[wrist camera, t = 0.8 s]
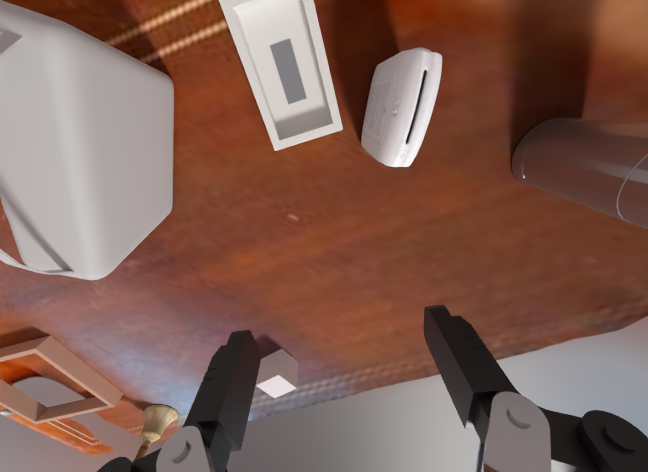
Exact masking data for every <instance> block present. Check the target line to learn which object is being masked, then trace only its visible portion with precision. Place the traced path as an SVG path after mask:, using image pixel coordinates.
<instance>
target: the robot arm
mask: <svg viewBox="0 0 648 472" xmlns="http://www.w3.org/2000/svg"><path fill="white" fill-rule="evenodd" d="M512 171H513V174H514V176H515V177H516V178H517V179H518V180H519V181H520V182H523V183H525V184H528V185H531V186H533V187H536V188H538V189H541V190H543V191H546V192H549V193H551V194H554V195H557V196H559V197H562V198H565V199H567V200H570V201H573V202H575V203H578V204H581V205H583V206H586V207H589V208H591V209H594V210H597V211H599V212H602V213H605V214H607V215H610V216H613V217H615V218H618V219H621V220H623V221H626V222H629V223H632V224H634V225H637V226H640V227H642V228H645V229H648V122H631V121H613V120H596V119H581V118H562V117H560V118H552V119H548V120H546V121H544V122H541V123H539V124H538V125H536V126H535V127H534V128H532V129H531V130H530V131H529V132H528V133H527V134H526V135H525V136H524V137H523V138H522V139H521V141H520V142H519V144H518V145H517V147H516V149H515V152H514V154H513V158H512ZM424 336H425V340H426V343H427V345H428V347H429V350H430V352H431V354H432V356H433V359H434V361H435V363H436V365H437V368H438V370H439V372H440V374H441V376H442V378H443V381H444V383H445V385H446V387H447V390H448V392H449V394H450V396H451V399H452V401H453V403H454V405H455V408H456V410H457V412H458V414H459V417H460V418H461V421H462V423H463V425H464V428H465V429H469V428H475V430H476V432H477V434H478V435H479V437H480V444H479V450H478V457H477V463H476V470H475V472H648V438H647V437H646V436H645V435H644V434H643V433H642V432H641V431H640V430H639V429H638V428H636V427H635V426H633V425H632V424H631V423H629V422H628V421H626V420H624V419H622V418H620V417H619V416H616V415H614V414H611V413H608V412H604V411H598V410H593V411H589V412H587V413H586V414H585V415H584V416H583V417H582V418H580V417H576V416H572V415H567V414H563V413H558V412H554V411H550V410H546V409H543V408H541V407H539V406H537V405H535V404H534V403H533V402H532V401H530V400H529V399H527V398H526V397H524V396H522V395H521V394H520V393H519V392H518V391H517V390H516V389H515V388H514V386H513V385H512V383H511V382H510V381H509V379H508V378H507V376H506V375H505V373H504V372H503V370H502V369H501V368H500V366H499V365H498V363H497V362H496V360H495V359H494V357H493V356H492V354H491V353H490V351H489V350H488V349H487V348H486V346H485V344H484V343H483V341H482V340H481V339H480V338H479V335H478V334H477V333H476V331H475V330H474V328H473V327H472V325H471V324H470V323H468V322H467V321H466V320H464V319H463V318H462V317H461V316H451V315H450V313H449V311H448V310H447V308H446V307H445V306H444V305H436V306H429V307H425V311H424ZM260 361H261V355H260V350H259V348H258V346H257V344H256V341H255V339H254V337H253V335H252V333H251V331H250V330H244V331H237V332H232V333H231V335H230V337H229V340H228V342H227V345H224V346H221V347H220V348H219V349H218V351H217V352H216V353H215V354H214V356H213V357H212V359H211V362H210V364H209V367H208V371H206V374H205V376H204V378H203V382H202V383H201V386H200V388H199V390H198V393H197V395H196V397H195V400H194V402H193V405H192V407H191V409H190V412H189V414H188V416H187V419H186V421H185V423H184V425H183V427H182V428H181V429H179V430H178V431H176V432H175V433H174V434H173V435H172V436H171V437H170V438H169V439H168V440H167V441H166V443H165V444H164V446H163V447H162V448H161V449H159V450H157V451H155V452H153V453H151V454H148V455H146V456H145V457H142V458H140V459H138V460H136V461H134V462H132V461H130V460H129V459H128V458H126V457H118V458H116V459H113V460H111V461H109V462H108V463H106V464H105V465H104V466H103V467H101V469H99V470H98V471H97V472H231V471H230V468H229V465H228V459H229V455H230V451H237V450H241V446H242V442H243V438H244V433H245V429H246V424H247V420H248V416H249V411H250V407H251V402H252V398H253V394H254V389H255V385H256V380H257V376H258V371H259V367H260Z"/></svg>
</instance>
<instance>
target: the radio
mask: <svg viewBox="0 0 648 472" xmlns="http://www.w3.org/2000/svg"><path fill="white" fill-rule="evenodd" d="M173 134H174V86H173V83H172V80H171V79H170V77H168V76H167V75H166V74H165V73H163V72H161V71H159V70H157V69H155V68H153V67H151V66H149V65H147V64H145V63H143V62H141V61H139V60H137V59H135V58H133V57H131V56H129V55H127V54H126V53H124V52H122V51H120V50H118V49H116V48H114V47H112V46H110V45H108V44H106V43H104V42H102V41H100V40H98V39H96V38H95V37H93V36H91V35H89V34H87V33H85V32H83V31H81V30H79V29H77V28H75V27H73V26H71V25H69V24H67V23H65V22H63V21H60V20H57V19H55V18H52V17H49V16H46V15H43V14H40V13H37V12H34V11H31V10H29V9H26V8H23V7H20V6H17V5H14V4H11V3H8V2H6V1H3V0H0V197H1V202H2V205H3V208H4V211H5V214H6V216H7V217H8V220H9V223H10V226H11V229H12V232H13V235H14V238H15V241H16V244H17V247H18V250H19V253H20V256H21V258H22V260H23V262H24V263H25V264H26V265H27V266H28V267H27V266H24V265H21V264H19V263H18V262H17V261H15V260H14V259H13V258H12V257H10V256H9V255H8V254H6V253H5V252H4V251H2V250H1V249H0V260H1V261H3V262H4V263H6V264H9V265H13V266H16V267H20V268H23V269H27V270H30V271H34V272H38V273H43V274H49V275H52V274H60V275H66V276H71V277H76V278H82V279H87V280H97V279H101V278H103V277H105V276H107V275H108V274H109V273H111V272H112V271H113V270H114V269H115V268H116V267H117V266H118V265H119V264H120V263H121V262H122V261H123V260H124V259H125V258H126V257H127V256H128V255H129V254H130V253H131V252H132V251H133V250H134V249H135V248H136V247H137V246H138V245H139V244H140V243H141V242H142V241H143V240H144V239H145V238H146V237H147V236H148V234H149V233H150V232H151V231H152V230H153V229H154V228H155V227H156V226H157V225H158V224H159V223H160V222H161V221H162V220H163V219H164V218H165V217H166V216H167V215H168V214H169V213H170V212H171V210H172V205H173Z"/></svg>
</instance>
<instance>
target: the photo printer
mask: <svg viewBox="0 0 648 472" xmlns="http://www.w3.org/2000/svg"><path fill="white" fill-rule="evenodd" d="M441 70H442V56H441V55H440V54H439V53H436V52H431V51H430V50H428V49H425V48H415V49H411V50H407V51H402V52H400V53H398V54H396V55H395V56H393V57H391V58H389V59H387V60H385V61H384V62H382V63H380V64H378V65H377V67H376V69H375V72H374V75H373V79H372V83H371V88H370V92H369V97H368V102H367V107H366V113H365V118H364V124H363V130H362V138H361V146H362V147H363V148H364V149H365V150H366V151H367V152H368V153H370V154H371V155H372V156H373V157H374V158H375V159H376V160H377V161H379V162H381V163H383V164H385V165H387V166H391V167H400V166H401V167H408V166H410V165H411V163H412V162H413V160H414V158H415V157H416V155H417V153H418V150H419V148H420V146H421V143H422V141H423V138H424V136H425V133H426V130H427V127H428V124H429V121H430V118H431V114H432V111H433V107H434V104H435V100H436V96H437V92H438V87H439V83H440V77H441Z"/></svg>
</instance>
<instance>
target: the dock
mask: <svg viewBox="0 0 648 472" xmlns="http://www.w3.org/2000/svg"><path fill="white" fill-rule="evenodd" d="M219 2H220V5H221V7H222V10H223V13H224V16H225V18H226V21H227V24H228V26H229V29H230V32H231V34H232V37H233V40H234V42H235V45H236V48H237V50H238V53H239V56H240V58H241V61H242V64H243V66H244V69H245V72H246V75H247V77H248V80H249V83H250V85H251V88H252V91H253V93H254V96H255V99H256V101H257V104H258V107H259V109H260V112H261V115H262V117H263V120H264V123H265V126H266V128H267V131H268V134H269V136H270V139H271V142H272V144H273V147H274V150H275V151H277V150H280V149H283V148H286V147H290V146H293V145H296V144H299V143H302V142H305V141H309V140H312V139H315V138H318V137H321V136H324V135H327V134H331V133H334V132H337V131H340V130H343V127H342V123H341V118H340V114H339V110H338V105H337V101H336V97H335V92H334V88H333V83H332V79H331V75H330V70H329V66H328V62H327V57H326V53H325V49H324V44H323V40H322V36H321V31H320V27H319V23H318V18H317V14H316V10H315V5H314V1H313V0H219Z"/></svg>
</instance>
